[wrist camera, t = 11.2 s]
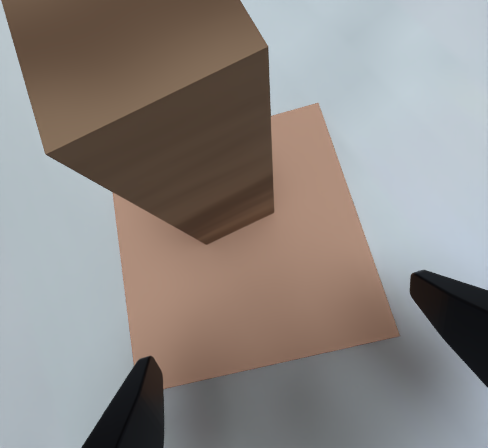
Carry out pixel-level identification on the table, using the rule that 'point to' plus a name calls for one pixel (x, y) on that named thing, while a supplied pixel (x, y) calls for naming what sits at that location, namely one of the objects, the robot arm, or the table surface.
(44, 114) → the walnut block
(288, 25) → the table surface
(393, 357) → the table surface
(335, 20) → the table surface
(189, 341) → the terracotta mat
